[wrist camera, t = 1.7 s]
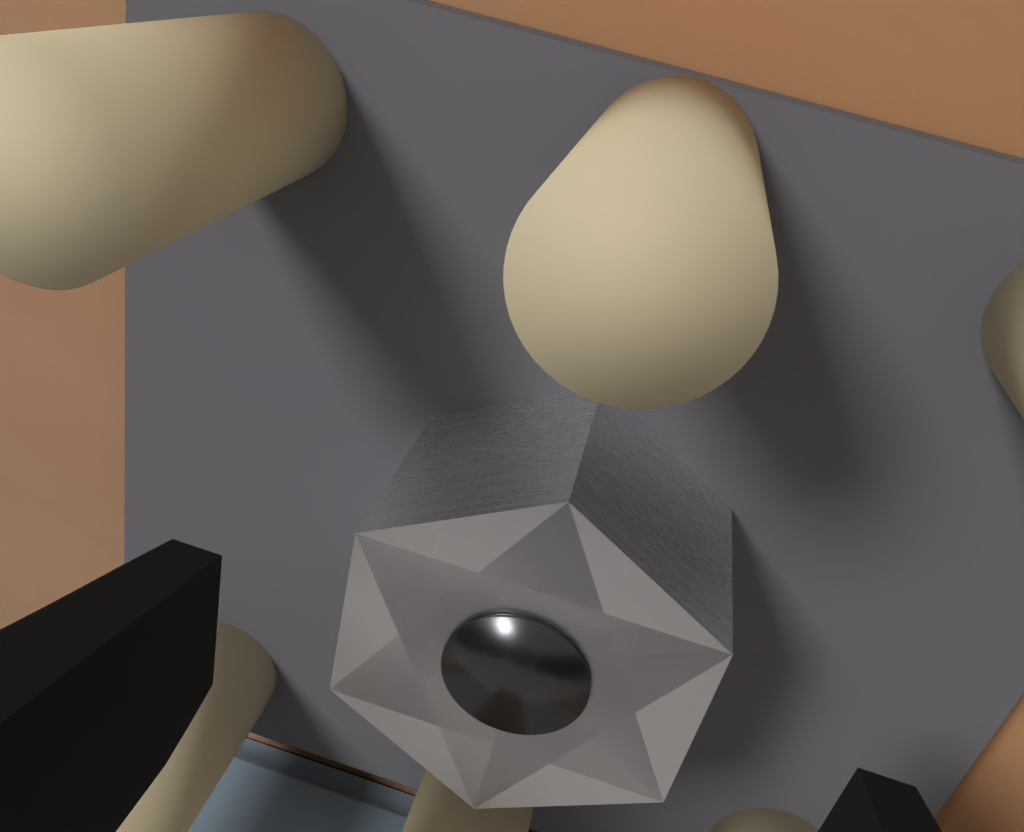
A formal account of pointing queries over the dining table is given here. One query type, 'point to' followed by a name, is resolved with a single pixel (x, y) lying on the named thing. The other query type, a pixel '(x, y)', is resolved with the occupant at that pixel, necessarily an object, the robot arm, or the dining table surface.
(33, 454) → the dining table surface
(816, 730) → the spacer field
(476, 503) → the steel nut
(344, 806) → the tray
